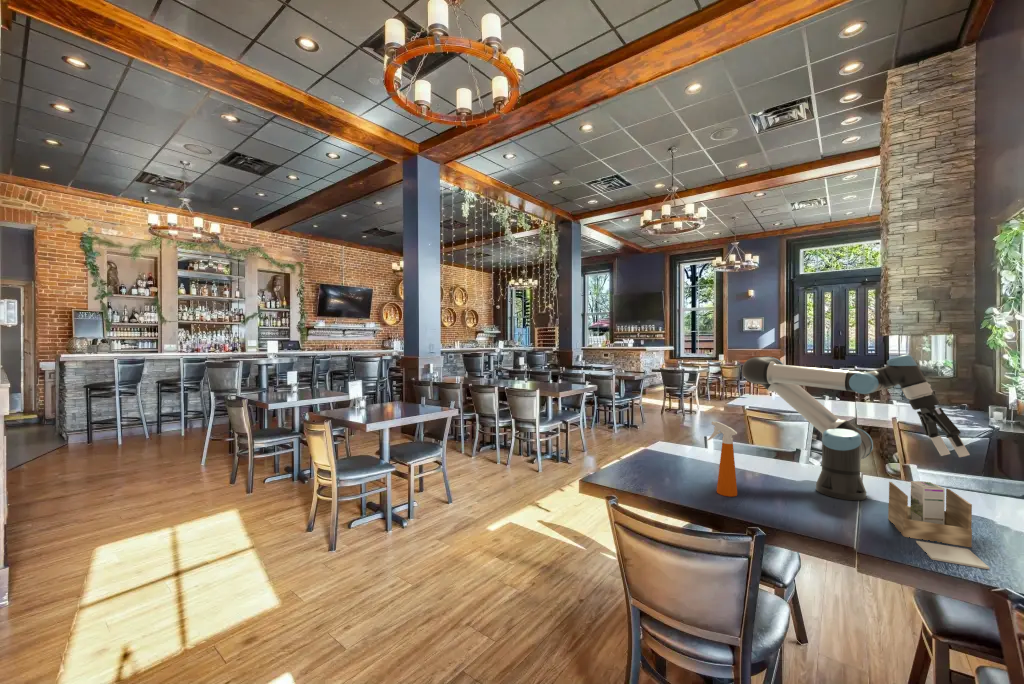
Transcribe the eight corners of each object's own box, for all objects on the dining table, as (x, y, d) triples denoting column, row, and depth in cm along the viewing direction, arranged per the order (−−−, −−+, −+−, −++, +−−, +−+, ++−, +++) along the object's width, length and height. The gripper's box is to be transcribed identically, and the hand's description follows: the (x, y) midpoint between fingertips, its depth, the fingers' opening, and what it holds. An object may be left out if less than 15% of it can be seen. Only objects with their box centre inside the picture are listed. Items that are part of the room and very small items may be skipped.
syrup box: (945, 537, 130) (946, 487, 130) (922, 535, 131) (923, 486, 131) (931, 529, 135) (932, 481, 135) (909, 527, 136) (909, 480, 136)
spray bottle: (709, 486, 172) (710, 419, 172) (739, 493, 165) (740, 422, 165) (703, 491, 167) (704, 421, 166) (734, 498, 160) (736, 425, 160)
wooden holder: (904, 536, 130) (904, 495, 130) (888, 518, 143) (888, 481, 143) (971, 547, 123) (972, 504, 123) (948, 527, 136) (949, 488, 136)
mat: (931, 559, 116) (931, 557, 116) (916, 542, 126) (916, 540, 126) (989, 569, 111) (989, 567, 111) (968, 550, 121) (968, 549, 121)
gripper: (949, 389, 146) (987, 453, 140) (919, 396, 169) (950, 451, 162) (922, 396, 149) (959, 459, 142) (896, 402, 171) (926, 457, 164)
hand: (954, 455), depth 152 cm, fingers open, 13 cm apart
